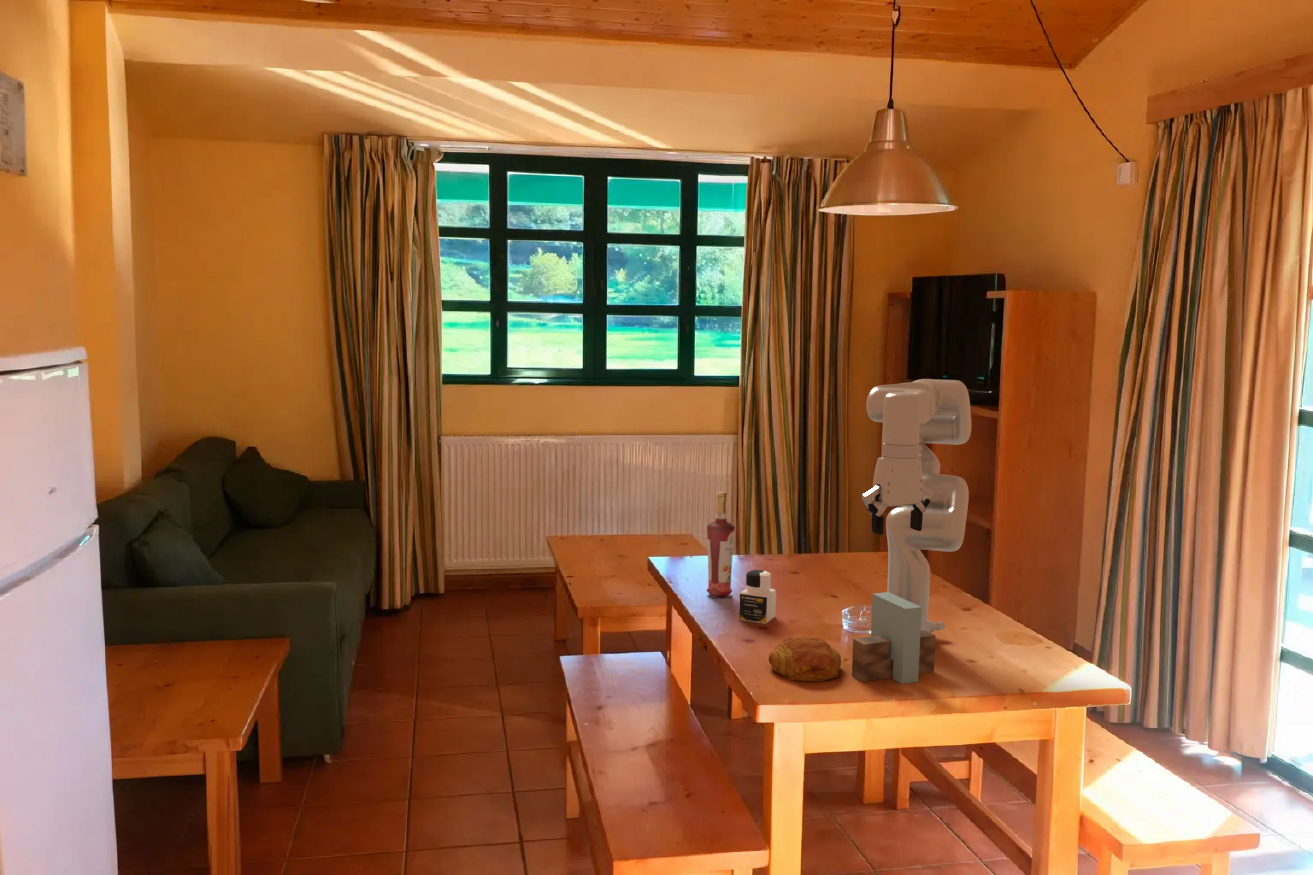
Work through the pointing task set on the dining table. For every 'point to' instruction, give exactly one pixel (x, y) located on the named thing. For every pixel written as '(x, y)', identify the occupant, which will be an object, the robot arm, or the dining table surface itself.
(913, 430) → the robot arm
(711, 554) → the liquor
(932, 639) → the mottled brown block
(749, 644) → the dining table surface
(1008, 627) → the dining table surface
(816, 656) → the croissant
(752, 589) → the medicine bottle
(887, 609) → the plain rectangular block
